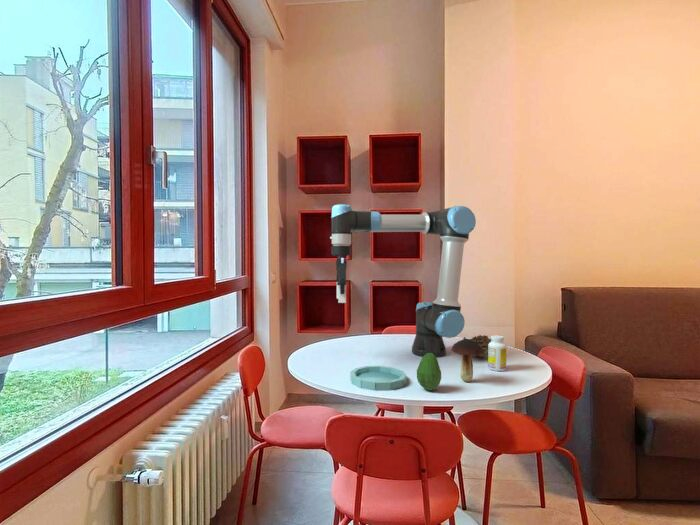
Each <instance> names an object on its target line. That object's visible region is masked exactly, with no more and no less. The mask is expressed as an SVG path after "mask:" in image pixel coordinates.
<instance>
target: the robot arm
mask: <svg viewBox="0 0 700 525" xmlns="http://www.w3.org/2000/svg"><path fill="white" fill-rule="evenodd" d="M330 218H331V236H330V237H329V239H330V240H331V245H332V246H331V255H332V256H333V257H335V256H337V258H336V260H335V267H336V268H335V270H336V299H337V300H338V301H337V302H338V304H346V303H347V259H346V258H345V257H347V256H351V255H352V246H351V245H352V233H355V234H357V233H393V232H394V233H396V232H397V233H399V232H401V233H405V232H406V233H409V232H410V233H414V232H417V233H418V232H420V233H421V234H424V235H425V234H426V235H436V236H439V239H440V240H441V241H442V247H441V255H440V256H441V258H440V266H439V275H438V284H437V293H436V298H435V300H433V301H432V302H418V303H417V304H416V308H415V337H414V339H413V343H412V346H411V353H412V354H413V355H415V356H418V357H423V356H424V355H426V354H428V353H432V354H434V355H435V356H436V358H439V357H440V358H441V357H444V356H446V354H447V349H446V344H445V342H444V338H446V339H447V338H448V339H451V338H454V337H457V336H458V335H459V334H461V332H462V331H463V329H464V328H465V323H466V322H465V321H466V320H465V317H464V316H463V314H462V312H461V311H462V308H461V307H462V305H461V303H459V294H460V283H461V275H462V266H463V259H464V258H463V257H464V248H465V244H466V243H467V242H468V241H469V236H470V233H471V232H472V231H474V230H475V228H476V223H477V221H476V215H475V213H474V212H473V211H472V209H471V208H470V207H467V206H465V205H454V206H452V207H448V208H447V207H446V208H442V209H439V210H435V211H427V212H426V211H425V212H424V211H423V212H422V213H421V214H381V213H380V212H379V211H373V210H372V211H369V210H367V211H364V210H363V211H361V210H353V209H352V206H351V205H350V204H335V205H333V206H332V208H331V216H330Z"/></svg>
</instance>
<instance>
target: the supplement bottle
mask: <svg viewBox="0 0 700 525" xmlns="http://www.w3.org/2000/svg"><path fill="white" fill-rule="evenodd" d="M490 339H491V341H492V342H490V343H489V344H488V357H487V368H488V369H489V370H490V371H494V372H505V371H507V344H506V343H504V340H505V336H503V335H491V336H490Z"/></svg>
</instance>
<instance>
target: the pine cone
mask: <svg viewBox="0 0 700 525" xmlns="http://www.w3.org/2000/svg"><path fill="white" fill-rule="evenodd" d="M463 339H467V338H466V337H465V336H464V337H463ZM469 339H470V340H472V341H474V342H476V343H477V344H478V345H480V346H481V348H482V349H483V353H480V354H478V355H475V356H476V357H478V358H479V357H481V358H485V357H487V358H488V344H489V343H490V342H492V340H491V338H489V336H488V335H481V334H479V335H477V336H476V335H474V337H472V338H469Z"/></svg>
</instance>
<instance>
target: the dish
mask: <svg viewBox="0 0 700 525" xmlns="http://www.w3.org/2000/svg"><path fill="white" fill-rule="evenodd" d="M349 381H350V382H351V383H350V384H352V385H353V386H355V385H356V387H358V388H360V389H364V388H366V389H365V390H370V389H371V390H370V391H392V390H396V389H397V390H398V389H400V388H403V387H404V386H405V385H406V383H407V374H406V373H405V372H404V371H403V370H401V369H399V368H395V367H391V366H385V365H366V366H365V365H364V366H359V367H356V368H354V369H351V371H350V373H349Z"/></svg>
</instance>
